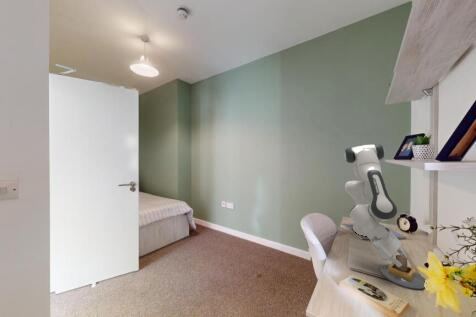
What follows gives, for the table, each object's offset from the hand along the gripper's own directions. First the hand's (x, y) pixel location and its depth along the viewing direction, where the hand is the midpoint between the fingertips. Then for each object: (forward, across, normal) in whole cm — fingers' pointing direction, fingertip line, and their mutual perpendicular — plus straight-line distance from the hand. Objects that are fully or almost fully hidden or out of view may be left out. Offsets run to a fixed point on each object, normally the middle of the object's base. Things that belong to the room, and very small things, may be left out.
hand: (403, 262), depth 85 cm
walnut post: (+4, 0, +5) cm, 6 cm away
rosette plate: (+5, 0, +6) cm, 7 cm away
